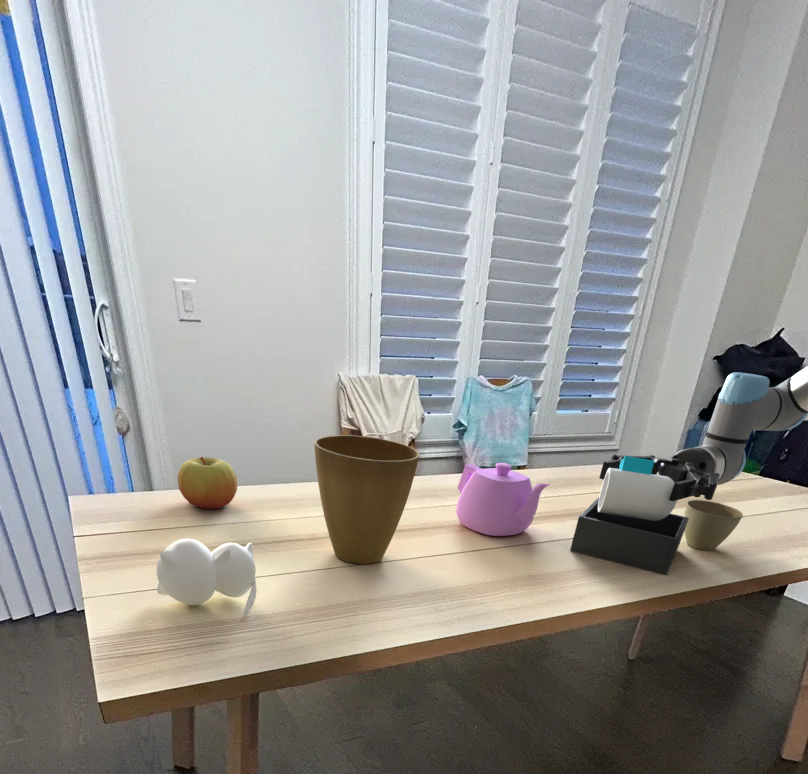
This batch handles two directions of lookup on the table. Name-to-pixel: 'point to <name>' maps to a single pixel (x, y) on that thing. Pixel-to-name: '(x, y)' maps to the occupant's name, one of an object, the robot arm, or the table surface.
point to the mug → (636, 491)
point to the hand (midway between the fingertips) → (637, 481)
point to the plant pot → (363, 492)
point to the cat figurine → (206, 572)
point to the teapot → (496, 500)
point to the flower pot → (709, 523)
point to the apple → (207, 482)
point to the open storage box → (629, 539)
